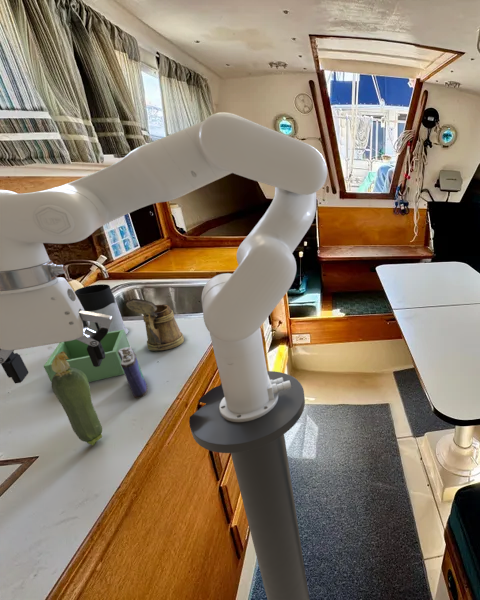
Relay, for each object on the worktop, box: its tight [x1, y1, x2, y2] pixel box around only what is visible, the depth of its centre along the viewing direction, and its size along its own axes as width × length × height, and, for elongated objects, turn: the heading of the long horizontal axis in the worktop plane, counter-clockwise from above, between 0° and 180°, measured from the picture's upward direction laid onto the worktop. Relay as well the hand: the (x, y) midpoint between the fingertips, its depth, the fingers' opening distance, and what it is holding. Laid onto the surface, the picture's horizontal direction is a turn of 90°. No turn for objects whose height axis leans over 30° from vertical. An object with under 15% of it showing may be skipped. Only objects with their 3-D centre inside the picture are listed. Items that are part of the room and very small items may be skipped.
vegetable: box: [51, 352, 103, 446], centre depth 58 cm, size 4×4×20 cm
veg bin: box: [43, 330, 131, 383], centre depth 81 cm, size 13×13×7 cm
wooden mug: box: [125, 298, 185, 352], centre depth 88 cm, size 9×14×18 cm, turn 14°
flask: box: [118, 346, 148, 399], centre depth 74 cm, size 9×3×11 cm, turn 43°
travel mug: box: [74, 283, 129, 335], centre depth 91 cm, size 9×14×15 cm, turn 172°
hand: (62, 370), depth 55 cm, fingers open, 9 cm apart
